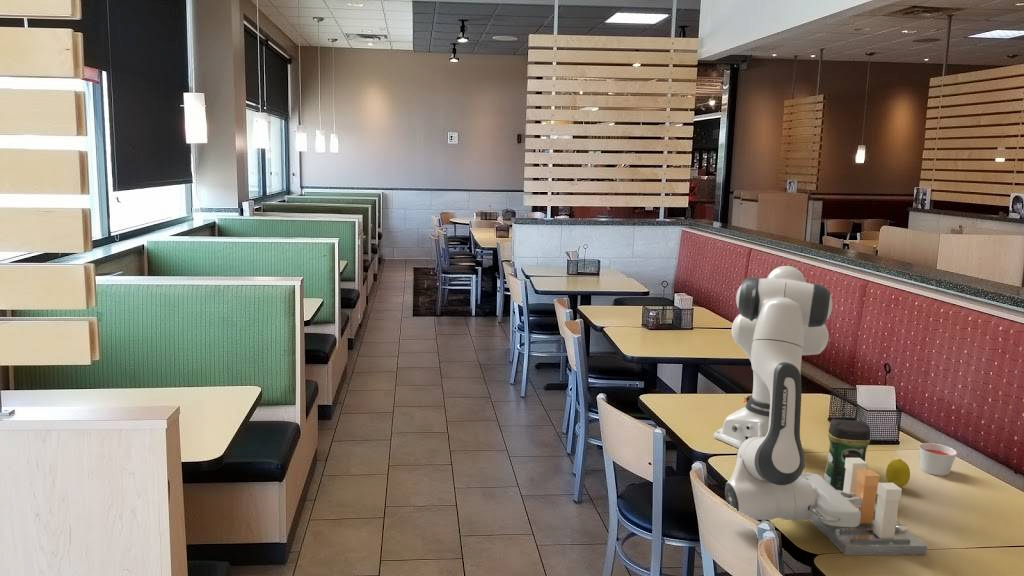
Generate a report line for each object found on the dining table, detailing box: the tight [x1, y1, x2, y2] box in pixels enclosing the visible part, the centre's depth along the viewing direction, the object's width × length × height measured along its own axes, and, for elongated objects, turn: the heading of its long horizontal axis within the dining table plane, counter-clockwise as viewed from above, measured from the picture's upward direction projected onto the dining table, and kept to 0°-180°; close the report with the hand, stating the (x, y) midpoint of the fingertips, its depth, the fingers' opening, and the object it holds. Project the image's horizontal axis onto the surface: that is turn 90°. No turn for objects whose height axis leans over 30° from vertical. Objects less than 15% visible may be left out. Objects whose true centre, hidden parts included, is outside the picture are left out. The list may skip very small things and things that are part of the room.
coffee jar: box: [822, 418, 871, 491], centre depth 198 cm, size 10×8×19 cm
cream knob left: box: [843, 458, 868, 494], centre depth 184 cm, size 3×3×11 cm
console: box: [809, 502, 928, 556], centre depth 178 cm, size 18×22×3 cm
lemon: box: [885, 458, 911, 488], centre depth 202 cm, size 6×6×8 cm
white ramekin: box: [918, 442, 957, 477], centre depth 215 cm, size 9×9×6 cm
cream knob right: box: [873, 482, 903, 539], centre depth 170 cm, size 3×3×11 cm
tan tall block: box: [855, 469, 881, 523], centre depth 177 cm, size 3×3×11 cm
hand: (858, 499), depth 177 cm, fingers closed, pressing on tan tall block
